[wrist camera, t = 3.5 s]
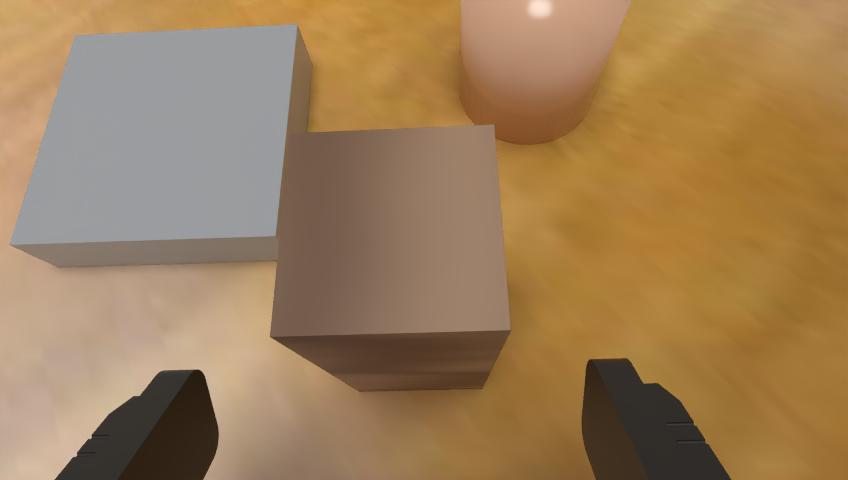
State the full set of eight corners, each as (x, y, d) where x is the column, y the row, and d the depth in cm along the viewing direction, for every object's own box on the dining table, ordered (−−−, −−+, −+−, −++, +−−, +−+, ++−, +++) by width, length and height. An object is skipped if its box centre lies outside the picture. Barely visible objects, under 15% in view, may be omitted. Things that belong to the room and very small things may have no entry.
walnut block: (475, 271, 20) (494, 124, 11) (482, 388, 19) (511, 330, 9) (362, 275, 21) (289, 133, 11) (359, 391, 19) (270, 336, 10)
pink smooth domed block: (582, 34, 25) (619, -86, 19) (600, 141, 22) (649, 40, 17) (456, 40, 25) (457, -76, 19) (462, 147, 23) (465, 49, 17)
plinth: (314, 71, 25) (297, 24, 22) (298, 263, 21) (275, 236, 19) (116, 80, 26) (75, 35, 23) (66, 270, 22) (9, 244, 19)
